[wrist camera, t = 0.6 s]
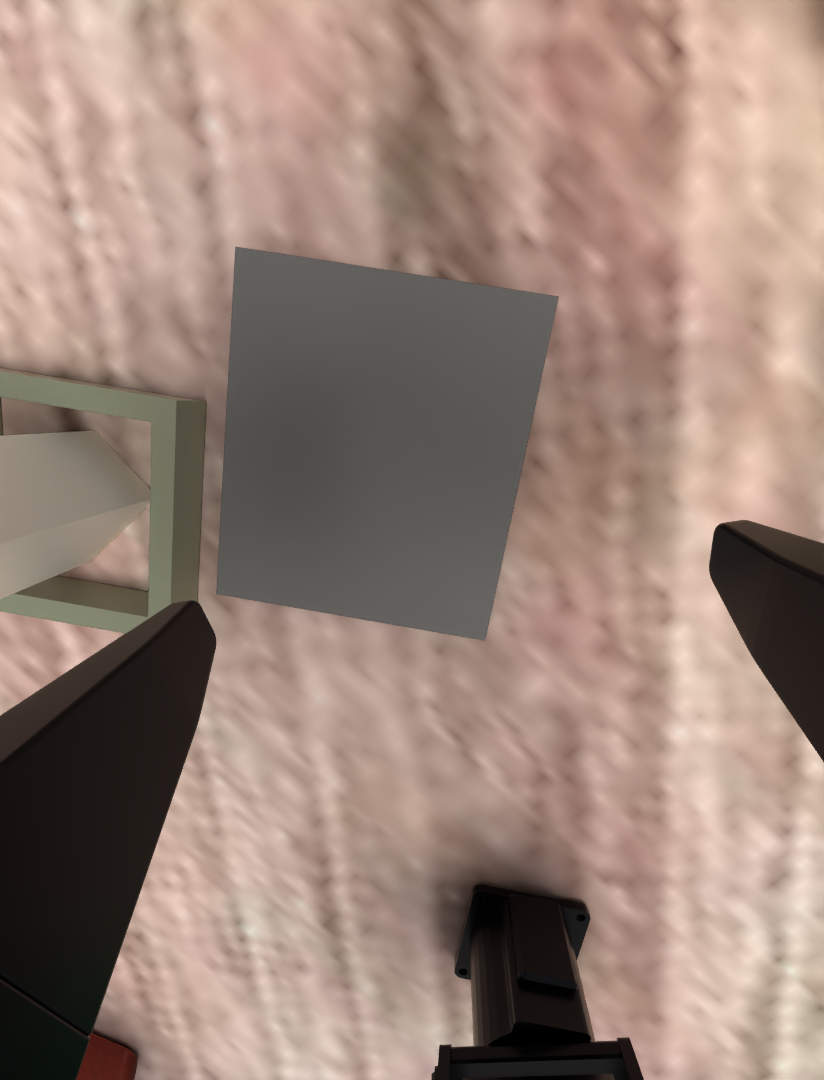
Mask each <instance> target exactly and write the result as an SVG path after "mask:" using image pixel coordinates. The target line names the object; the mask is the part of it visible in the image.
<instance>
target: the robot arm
mask: <svg viewBox="0 0 824 1080" xmlns="http://www.w3.org/2000/svg"><path fill="white" fill-rule="evenodd" d="M709 572H710V576H711V579H712V581H713V583H714V585H715V587H716V589H717V591H718V593H719V595H720V597H721V599H722V601H723V602H724V604H725V606H726V608H727V610H728V612H729V614H730V616H731V618H732V620H733V622H734V624H735V625H736V627H737V629H738V631H739V633H740V635H741V637H742V639H743V641H744V643H745V645H746V646H747V648H748V650H749V652H750V653H751V655H752V657H753V658H754V660H755V661H756V663H757V665H758V666H759V668H760V669H761V671H762V672H763V674H764V675H765V677H766V678H767V680H768V681H769V682H770V684H771V685H772V687H773V688H774V690H775V691H776V693H777V694H778V696H779V697H780V699H781V700H782V702H783V703H784V704H785V706H786V707H787V709H788V710H789V712H790V713H791V715H792V716H793V718H794V719H795V721H796V722H797V724H798V725H799V726H800V728H801V729H802V731H803V732H804V734H805V735H806V737H807V738H808V740H809V741H810V743H811V744H812V746H813V747H814V748H815V750H816V751H817V753H818V754H819V756H820V757H821V759H822V760H823V762H824V543H821V542H818V541H814V540H811V539H808V538H804V537H801V536H798V535H794V534H791V533H788V532H785V531H781V530H778V529H775V528H771V527H768V526H765V525H761V524H758V523H755V522H751V521H748V520H740V521H733V522H726V523H721V524H719V525H718V526H717V527H716V528H715V531H714V535H713V542H712V549H711V556H710V563H709ZM215 649H216V636H215V633H214V631H213V629H212V627H211V625H210V623H209V621H208V619H207V617H206V615H205V613H204V611H203V609H202V607H201V606H200V604H199V603H198V602H196V601H194V600H189V601H182V602H175V603H172V604H170V605H169V606H167V607H165V608H164V609H162V610H161V611H159V612H158V613H156V614H155V615H153V616H152V617H150V618H149V619H147V620H146V621H144V622H143V623H141V624H140V625H138V626H136V627H135V628H133V629H132V630H130V631H129V632H127V633H126V634H124V635H123V636H121V637H120V638H118V639H117V640H115V641H114V642H112V643H111V644H109V645H107V646H106V647H104V648H103V649H101V650H100V651H98V652H97V653H95V654H94V655H92V656H91V657H89V658H88V659H86V660H85V661H83V662H82V663H80V664H78V665H77V666H75V667H74V668H72V669H71V670H69V671H68V672H66V673H65V674H63V675H62V676H60V677H59V678H57V679H56V680H54V681H52V682H51V683H49V684H48V685H46V686H45V687H43V688H42V689H40V690H39V691H37V692H36V693H34V694H33V695H31V696H30V697H28V698H27V699H25V700H23V701H22V702H20V703H19V704H17V705H16V706H14V707H13V708H11V709H10V710H8V711H7V712H5V713H4V714H2V715H1V716H0V1080H76V1079H77V1076H78V1073H79V1070H80V1067H81V1064H82V1061H83V1058H84V1055H85V1052H86V1050H87V1047H88V1044H89V1041H90V1037H89V1036H88V1035H90V1034H91V1033H92V1031H93V1028H94V1025H95V1022H96V1019H97V1016H98V1014H99V1011H100V1008H101V1005H102V1002H103V999H104V996H105V993H106V990H107V987H108V984H109V982H110V979H111V976H112V973H113V970H114V967H115V964H116V961H117V958H118V955H119V952H120V949H121V947H122V944H123V941H124V938H125V935H126V932H127V929H128V926H129V923H130V920H131V917H132V915H133V912H134V909H135V906H136V903H137V900H138V897H139V894H140V891H141V888H142V885H143V883H144V880H145V877H146V874H147V871H148V868H149V865H150V862H151V859H152V856H153V853H154V851H155V848H156V845H157V842H158V839H159V836H160V833H161V830H162V827H163V824H164V821H165V819H166V816H167V813H168V810H169V807H170V804H171V801H172V798H173V795H174V792H175V789H176V787H177V784H178V781H179V778H180V775H181V772H182V769H183V766H184V763H185V760H186V757H187V754H188V752H189V749H190V746H191V743H192V740H193V737H194V734H195V731H196V728H197V725H198V721H199V718H200V714H201V710H202V706H203V702H204V697H205V693H206V688H207V684H208V680H209V675H210V671H211V667H212V662H213V658H214V653H215ZM480 895H482V896H480ZM589 921H590V914H589V911H588V908H587V907H586V906H585V905H583V904H579V903H574V902H569V901H563V900H558V899H553V898H547V897H542V896H537V895H531V894H526V893H521V892H515V891H510V890H505V889H499V888H494V887H489V886H484V885H478V886H475V887H474V888H473V890H472V893H471V897H470V901H469V905H468V909H467V914H466V918H465V922H464V926H463V930H462V934H461V939H460V943H459V947H458V951H457V955H456V959H455V974H456V975H457V976H458V977H460V978H464V979H469V980H471V992H472V1016H473V1040H474V1046H469V1047H452V1046H451V1045H440V1047H439V1060H438V1066H435V1072H433V1073H432V1080H644V1079H643V1076H642V1073H641V1070H640V1067H639V1064H638V1062H637V1059H636V1056H635V1053H634V1050H633V1047H632V1044H631V1041H630V1038H629V1037H628V1038H617V1041H597V1042H595V1038H594V1034H593V1030H592V1025H591V1021H590V1017H589V1013H588V1008H587V1004H586V1000H585V995H584V991H583V987H582V983H581V978H580V974H579V970H578V966H577V958H578V955H579V952H580V949H581V946H582V943H583V940H584V937H585V933H586V930H587V927H588V924H589Z"/></svg>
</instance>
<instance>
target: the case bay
mask: <svg viewBox="0 0 824 1080" xmlns="http://www.w3.org/2000/svg"><path fill="white" fill-rule="evenodd" d="M0 397H4V398H10V399H16V400H22V401H28V402H34V403H40V404H46V405H52V406H58V407H64V408H70V409H77V410H83V411H89V412H95V413H101V414H107V415H113V416H119V417H125V418H131V419H137V420H143V421H149V422H152V425H151V484H150V544H149V592H147V591H141V590H135V589H129V588H124V587H118V586H112V585H106V584H101V583H95V582H89V581H84V580H78V579H72V578H66V577H61V576H54V577H52V578H49V579H47V580H45V581H42V582H40V583H37V584H35V585H33V586H30V587H28V588H26V589H23V590H21V591H18V592H16V593H14V594H11V595H9V596H6V597H4V598H2V599H0V611H2V612H7V613H13V614H19V615H24V616H30V617H36V618H41V619H47V620H52V621H58V622H64V623H69V624H75V625H81V626H86V627H92V628H98V629H103V630H109V631H114V632H120V633H127V632H129V631H130V630H132V629H133V628H135V627H136V626H138V625H140V624H141V623H143V622H144V621H146V620H147V619H149V618H150V617H152V616H153V615H155V614H156V613H158V612H159V611H161V610H162V609H164V608H165V607H167V606H169V605H170V604H172V603H175V602H182V601H189V600H194V601H196V602H197V598H198V575H199V553H200V531H201V508H202V486H203V463H204V441H205V419H206V401H200V400H194V399H188V398H182V397H176V396H170V395H164V394H157V393H151V392H145V391H139V390H133V389H127V388H121V387H115V386H108V385H102V384H96V383H90V382H84V381H78V380H72V379H65V378H59V377H53V376H47V375H41V374H35V373H29V372H22V371H16V370H10V369H4V368H0ZM0 436H3V432H2V416H1V399H0Z"/></svg>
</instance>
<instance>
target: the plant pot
mask: <svg viewBox="0 0 824 1080" xmlns="http://www.w3.org/2000/svg"><path fill="white" fill-rule="evenodd" d="M88 1036H89V1037H90V1041H89V1044H88V1047H87V1050H86V1052H85V1055H84V1058H83V1061H82V1064H81V1067H80V1070H79V1073H78V1076H77V1079H76V1080H134V1078H135V1073H136V1067H137V1059H136V1056H135V1055H134V1053H133V1052H132V1051H131V1050H129V1049H127V1048H126V1047H123V1046H121V1045H119V1044H116V1043H114V1042H112V1041H109V1040H107V1039H105V1038H102V1037H100V1036H98V1035H95V1034H93V1033H91V1034H90V1035H88Z"/></svg>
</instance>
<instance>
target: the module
mask: <svg viewBox="0 0 824 1080" xmlns="http://www.w3.org/2000/svg"><path fill="white" fill-rule="evenodd" d="M149 505H150V489H149V487H148V486H147V485H146V484H145V483H144V482H143V481H142V480H141V479H140V478H139V477H138V476H137V475H136V474H135V473H134V472H133V470H132V469H131V468H130V467H129V466H128V465H127V464H126V463H125V462H124V461H123V460H122V459H121V458H120V457H119V456H118V455H117V453H116V452H115V451H114V450H113V449H112V448H111V447H110V446H109V445H108V444H107V443H106V442H105V441H104V440H103V439H102V438H101V437H100V435H99V434H98V433H97V432H96V431H77V432H59V433H40V434H22V435H3V436H0V599H2V598H4V597H6V596H9V595H11V594H14V593H16V592H18V591H21V590H23V589H26V588H28V587H30V586H33V585H35V584H37V583H40V582H42V581H45V580H47V579H49V578H52V577H54V576H56V575H59V574H61V573H64V572H66V571H68V570H71V569H73V568H76V567H78V566H80V565H83V564H85V563H87V562H90V561H92V560H93V559H94V558H95V557H96V556H97V555H98V554H99V553H100V552H101V551H102V550H103V549H104V548H105V547H106V546H107V545H108V544H109V543H110V542H111V541H112V540H114V539H115V538H116V537H117V536H118V535H119V534H120V533H121V532H122V531H123V530H124V529H125V528H126V527H127V526H128V525H129V524H130V523H131V522H132V521H133V520H134V519H135V518H136V517H137V516H138V515H139V514H141V513H142V512H143V511H144V510H145V509H146V508H147V507H148V506H149Z"/></svg>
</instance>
